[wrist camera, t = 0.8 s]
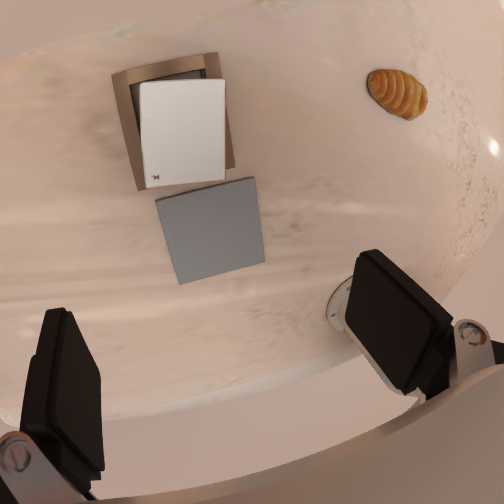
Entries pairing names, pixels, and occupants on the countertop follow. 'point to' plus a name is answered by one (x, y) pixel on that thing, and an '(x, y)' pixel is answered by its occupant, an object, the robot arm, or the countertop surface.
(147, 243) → the countertop surface
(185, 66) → the holder
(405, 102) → the pastry
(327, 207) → the countertop surface
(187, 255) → the mat
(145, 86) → the small box
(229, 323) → the countertop surface
